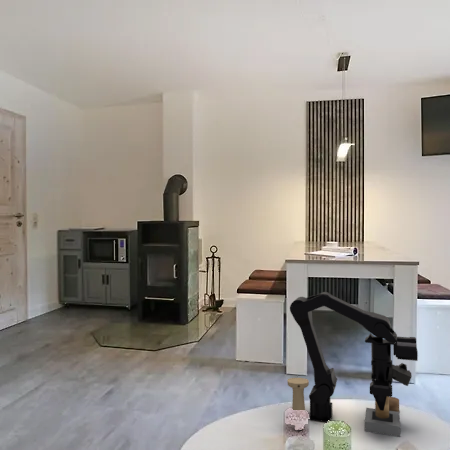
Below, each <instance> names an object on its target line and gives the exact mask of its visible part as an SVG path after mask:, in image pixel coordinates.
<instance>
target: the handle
mask: <svg viewBox="0 0 450 450" xmlns="http://www.w3.org/2000/svg"><path fill="white" fill-rule="evenodd" d="M286 382H287V386H288V387H290V388H292V389H291V390H292V403H291V404H292V405H291V410H292V409H293V410H305V411H306V404H305V389H306V388H308V387H309V385H310V384H309V379H307V378H304V377H291V378H287V381H286Z"/></svg>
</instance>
